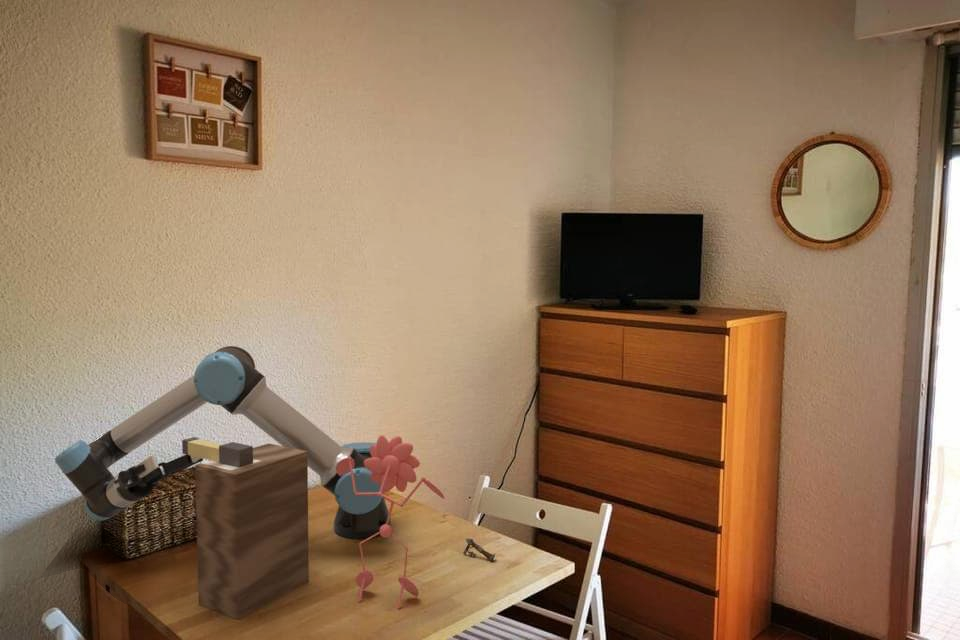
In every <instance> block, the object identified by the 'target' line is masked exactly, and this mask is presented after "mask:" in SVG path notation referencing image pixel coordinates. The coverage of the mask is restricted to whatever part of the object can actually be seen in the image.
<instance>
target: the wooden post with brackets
mask: <svg viewBox="0 0 960 640" xmlns="http://www.w3.org/2000/svg"><path fill="white" fill-rule="evenodd" d="M465 541H466V543H467V544H466V545H467V546H466V547H465V549H464V550H463V555H466V554H467V553H468V554H469V557H471V556H473V557H478V556H477V553H474V551H469V549H472V548H474V550H475V551H477V552H478V553H479V554H481V555H483V556H484V557H485V558H486V559H487V560H488V562H489V561H490V562H492V560H491V559H493V560H494V558H495V557H496V554H495V553H493V554H492V553H490V552H488V551H486V550H485V549H484V548H483V547H482V546H480V545H479V544H477V543H476V542H475V541H474V539H473V538H466V539H465ZM473 557H472V558H473Z"/></svg>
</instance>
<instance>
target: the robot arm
mask: <svg viewBox="0 0 960 640" xmlns="http://www.w3.org/2000/svg"><path fill="white" fill-rule="evenodd" d="M207 403H209V404H211V405H215V406H220V407H222V408H223V409H224V410H226V411H227V412H228V413H230V414H231V415H232V416H234V415H243V416H244V417H246V419H248V420H249V421H250V422H252V423H253V424H254V425H255V426H257V428H259V429H261V430H262V431H263V432H264V433H265V434H267V435H268V436H269V437H270V438H272V439H273V440H274V441H275V442H277V443H278V444H279V445H280V446H284V447H289V448H294V449H298V450H303V451H307V453H308V468H310V470H312V471H313V472H314V473H316V474H317V475H318V476H319V477H320V485H321V486H322V487H323V488H324V489H325V490H326V491H328V492H329V493H331V494H332V495H333V496H334V500H335V502H337V504H338V507H337V511H336V513H335V515H334V519H333V531H334V533H335V534H336V535H338V536H340V537H344V538H349V539H358V538H359V539H367V538H369V537H371V536H373V535H375V534H376V533H378V532H379V530H380V528H381V526H383V525H385V524H386V522H387V518H388V514H389V509H388V506H387V503H386V499H384V498H383V497H378V496H377V495H355V493H354V490H353V484H352V478H351V472H349V473H346V474H344V475H341V476H339V475H338V473H337V471H336V465H337V463H338V462H339V461H340V460H342V459H343V458H348V457H351V458H352V459H353V460H354V463H355V466H354V468H353V474H354V480H355V486H356V493H375V492H380V489H381V487H380V485H381V482H373V481H371V478H370V476H371V473H372V472H371V471H370V470H368V469H367V468H366V467H365V465H364V460H366V459H368V458H372V456H371V454H370V446H371V445H377V442H364V441H363V442H352V443H350V442H349V443H345V444H343V445H340V444H339V443H338V442H336V440H333V439H332V438H331V437H330V436H328V434H327V433H325V432H324V431H323V430H321V429H320V428H319V427H317V426H316V425H315V424H314V423H313V422H312V421H310V420H309V419H308V418H306V416H304V415H303V414H301V413H300V412H299V411H298V410H296V409H295V408H294V407H293V406H292V405H290V403H288V402H287V401H286V400H284V399H283V398H281V397H280V396H279V395H278V394H277V393H276V392H274V391H273V390H271V388H269V387H268V386H267V380H266V376H265V375H263V374H262V373H261V372H260V371H259V370H257V368H256V364H255V360H254V358H253V356H252V355H251V354H250V353H249V352H248V351H247V350H245V349H244V348H242V347H240V346H239V347H238V346H235V345H231V346H230V345H229V346H223V347H221V348H219V349H217V350H216V351H214V352H212V353H209V354H208V355H206V356H205V357H204V358H203V359H201V362H199V364H198V365H197V367H196V369H195V371H194V374H193V375H191V377H189V378H188V379H186V380H185V381H183V382H182V383H180V384H179V385H177V386H175V387H174V388H172V389H171V390H169V391H168V392H166V393H165V394H163V395H162V396H160V397H158V398H156V400H154V401H153V402H151V403H149V404H148V405H146V406H145V407H144V408H141V409H140V410H139V411H137V412H136V413H134V414H132V415H130V416H129V417H128V418H126V419H125V420H124V421H122V422H121V423H118V425H116V426H114V427H113V428H112V429H110V430H108V431H107V432H105V433H104V434H102V435H103V436H102V437H101V438H99V439H98V440H96V441H94V440H93V441H94V442H93V441H91V442H92V443H91V442H90V443H88V444H87V442H86V441H84V440H83V439H82V440H77V441H76V442H75V443H74V444H72V445H70V446H68V447H67V448H66V449H64V450H63V451H62V452H60V453H58V454H57V455H56V456H55V460H54V461H55V464H57V466H58V467H59V469H60V471H61V472H62V474H64V476H66V478H68V480H69V481H70V482H71V483H72V485H74V487H76V489H77V490H78V491H79V492H80V493H81V495H82V496H83V498H84V504H83V506H84V507H83V508H84V510H85V513H86V515H87V516H88V517H89V518H91V519H92V520H95V521H106V520H108V519H110V518H112V517H113V518H114V517H115V516H117V515H118V514H120V513H121V512H123V511H124V510H123V509H125V508H126V509H128V508H129V509H132V508H133V507H134V504H135V503H137V502H139V501H141V500H143V499H144V498H146V497H147V496H149V495H150V494H152V492H153V490H155V487H156V484H158V483H159V482H160V481H161V480H163V479H166V478H171V477H172V476H173V475H175V474H178V473H179V472H182V471H184V470H185V469H188V468H190V467H192V466H195V465H197V464H200V463H203V462H204V458H200V457H196V456H191V455H186V454H183V455H181V456H179V457H176V458H175V459H173V460H169V461H168V462H164V461H163V462H160V463H158V461H157V460H158V459H157V458H156V455H155V454H153V455H150V456H149V457H147V458H146V459H144V460H143V461H141V462H139V463H138V464H137V465H133V466H131V467H129V468H127V469H126V470H121V471H120V472H118V475H117V476H114V475H113V473H112V472H111V471H110V470H109V468H110V467H111V466H112V465H114V464H116V462H118V461H120V460H121V459H123V458H124V457H126V456H127V455H129V454H130V453H132V452H133V451H135V450H137V449H138V448H140V447H141V446H143V445H144V444H146V443H147V442H149V441H150V440H152V439H153V438H155V437H156V436H157V435H159V434H160V433H162V432H164V431H166V430H167V429H168V428H170V427H172V426H173V425H174V424H176V423H179V421H181V420H182V419H184V418H185V417H187V416H188V415H190V414H191V413H193V412H195V411H196V410H198V409H199V408H200V407H202V406H204V405H205V404H207ZM382 494H383V495H385V492H383V491H382ZM128 506H129V507H128ZM127 507H128V508H127ZM126 509H125V510H126ZM122 510H123V511H122ZM120 511H121V512H120ZM119 512H120V513H119ZM116 514H117V515H116ZM391 521H392V519H391V517H390V518H389V521H388V525H389V526H390V527H391V528H392V523H391ZM379 536H381V535H380V534H378V535H376V536H374V537H373V538H375V537H379Z"/></svg>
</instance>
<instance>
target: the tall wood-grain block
mask: <svg viewBox="0 0 960 640" xmlns="http://www.w3.org/2000/svg"><path fill="white" fill-rule="evenodd" d="M194 466H195V467H194V471H195V476H194V477H195V507H196V508H195V509H196V512H195V513H196V514H195V516H196V544H197V545H196V549H197V551H196V552H197V556H196V557H197V586H198V587H197V589H198V592H197V593H198V597H197V598H198V605H199V606H202V607H203V608H207V609H210V610H211V611H215V612H217V613H220V614H223V615H225V616H227V617H231V618H233V619H236V620H241V619H242V618H244V617H246V616H248V615H249V614H251V613H253V612H255V611H257V610H259V609H261V608H263V607H264V606H266V605H268V604H270V603H272V602H274V601H276V600H277V599H280V598H282V597H284V596H285V595H287V594H289V593H290V592H292V591H294V590H296V589H297V588H300V587H301V586H304V585H305V584H307V583H309V581H310V580H309V579H310V576H309V575H310V574H309V573H310V572H309V569H310V568H309V567H310V566H309V486H308V485H309V484H308V483H309V481H308V479H309V477H308V476H309V474H308V473H309V472H308V471H309V470H308V468H309V467H308V453H307V451H303V450H298V449H294V448H289V447H284V446H282V445H280V444H279V445H277V444H274V443H266V444H262V445H259V446H255V447H253V463H252V464H249V465H246V466H243V467H240V468H239V467H235V466H230V465H226V464H222V463H219V462H217V461H213V460H207V461H202V462H199V463H196V464H194Z"/></svg>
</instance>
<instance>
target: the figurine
mask: <svg viewBox="0 0 960 640" xmlns="http://www.w3.org/2000/svg"><path fill="white" fill-rule="evenodd" d="M402 439H403V438H402V437H401V436H400V435H398V436H394V437H393V438H392V439H390V440H388V439H387V437H386V436H385V435H383V434H382V435H379V437H378V438H377V440H376V443H377V445H371V446H370V454H371V456H372V458H368V459H366V460H364V465H365V467H366V468H367V469H368V470H370V471H371V472H372V473H371V476H370V478H371V481H373V482H381V485H380V487H381V489H380V492H375V493H356V486H355V480H354V474H353V468H354V466H355V463H354V460H353V459H352V458H351V457H348V458H343V459H342V460H340V461H339V462H338V463H337V465H336V471H337V473H338V475H339V476H341V475H344V474H346V473H349V472H351V478H352V484H353V490H354V493H355V495H377V496H378V497H383V498H384V499H385V501H386V500H387V501H388V502H389V503H390V507H389V509H388V512H389V514H388V518H387V522H386V524H385V525H383V526H381V528H380V530H379V532H378V533H376V534H375V535H373V536H371V537H369V538H365V539H364V540H362V541H361V542H359V551H360V557H361V563H362V568H363V571H362V570H361V571H360V572H358V574H357V575H356V577H355V584H356V585H357V586H358V587H359V588H360V591H359V596H358V603H359V602H360V603H361V602H362V598H363V592H364V590H365V589H367V588H368V587H369V586H371V584H372V583H373V581H374V578H376V577H377V578H378V577H379V575H373V573H372V572H371V571H370V570H366V566H365V561H364V555H363V549H362V544H363V543H365V542H367V541H369V540H371V539H372V538H375V537H374V536H376V535H378V534H380V535H379V536H381V537H382V538H389V537H391V535H392V536H393V537H394V538H395V539H396V540H397V541H398V542H399V543H400V545H402V546H403V547H404V549H405V556H404V568H403V569H404V571H403V575H400V574H399V575H397V576H398V578H397V581H398V583H399V584H400V591H399V596H398V601H397V609H401V604H402V597H403V592H404V590H405V591H406V592H408V593H409V594H410V595H413V596H414V597H416V598H418V596H419V588H418V587H417V585H415V583H413V581H417V582H419V583H422V584H423V582H422V581H420V580H418V579H414V578H411V577H406V574H407V563H408V552H409V551H408V550H409V549H408V547H407V546H406V545H405V544H404V543H403V542H402V540H401V539H400V538H398V537H397V535H396V534H395V533H393V529H392V526H391V527H390V526H389V525H388V521H389V518H391V514H392V511H393V508H394V505H397V506H399V507H401V508H403V506H404V505H405V504H406V503H407V502H408V500H409V499H410V498H411V497H412V495H413V494H414V493H415V492H416V491H417V489H418V488H419V487H420V486H421V485H422V484H423V483H424V484H425V486H427V488H429V490H431V491H432V492H433V493H435V495H437V496H438V497H440V498H441V499H443V500H445V495H444V493H443V492H442V491H441V490H440V489H439V488H438V487H437V486H436V485H435V484H433V483H432V482H431V481H429V479H427V478H426V477H425V476H422V477H421V478H420V480H419V481H418V483H417V484H416V485H415V486H414V487H413V489H412V490H411V491H410V492H409V494H408V495H407V496H406V497H405V498H404V500H403V501H402V503H400V502H399V501H397V500H395V499H393V498H391V497H389V496H387V495H386V494H384V495H383V494H382V491H383V492H384V493H388V492H389V491H391V490H393V488H394V487H395V489H396V490H397V491H398V492H400V493H401V492H402V493H404V492H406V489H407V486H408V483H411V484H412V483H413V484H414V483H416V482H417V475H416V472H415V470H414V469H416V468H417V469H418V467H420V465H421V462H420V460H419V459H418V458H417V457H416V456H414V455H412V453H413V452H414V446H413V444H412V443H409V442H403V440H402ZM376 537H377V536H376ZM412 580H413V581H412ZM426 612H428V610H426V611H424V612H423V613H422V615H423V614H424V613H426Z"/></svg>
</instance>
